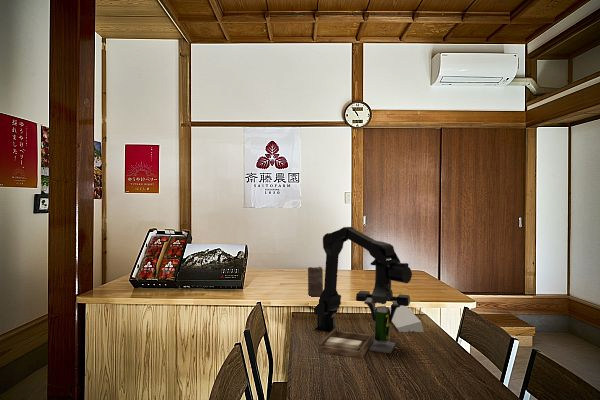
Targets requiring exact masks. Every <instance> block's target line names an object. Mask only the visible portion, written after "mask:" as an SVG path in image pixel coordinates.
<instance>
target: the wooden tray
mask: <svg viewBox="0 0 600 400" xmlns="http://www.w3.org/2000/svg"><path fill="white" fill-rule="evenodd" d="M330 337H335V338H343V339H350V340H358V341H365V342H364V343H362V345H361V348H360V351H354V350H347V349H340V348H332V347H325V343H326V341H327V340H328V339H329V338H330ZM374 341H375V332H371V334H365V333H357V332H349V331H341V330H338V328H337V327H335V328H334V329H333V330H332V331H330V332H329V333H328V334H327V335H326V336H325V337H324V338H323V339H322V340H320V342H319V343H318V352H319V353H322V354H329V355H335V356H343V357H348V358H349V357H350V358H355V359H356V358H357V359H363V358H364V357H365V354H366V353H367V352H368V351H369V348H370V347H371V345H372V344H373V342H374Z"/></svg>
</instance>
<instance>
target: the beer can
mask: <svg viewBox="0 0 600 400" xmlns="http://www.w3.org/2000/svg"><path fill="white" fill-rule="evenodd" d="M375 307H376V309H375V321H374V341H375V340H376V341H377V342H379V343H387V342H390V338H391V337H390V335H391V323H390V308H389V307H386V306H385V305H378V306H375Z"/></svg>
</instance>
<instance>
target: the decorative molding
mask: <svg viewBox="0 0 600 400" xmlns="http://www.w3.org/2000/svg"><path fill="white" fill-rule="evenodd" d="M389 308H390V313H391V307H389ZM391 323H392V325H393V326H395V328H396V330H397V331H398V333H402V332H403V333H409V332H410V333H411V332H416V333H424V332H425V331H424V328H423V324H422V321H421V319H419V317H418V316H417V315H416V314H415V313H414V312H413V311H412V310H411V309H410V308H409V307H408V306H400V307H397V309H396V311H395V313H394V316H393V319H392V322H391Z"/></svg>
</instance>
